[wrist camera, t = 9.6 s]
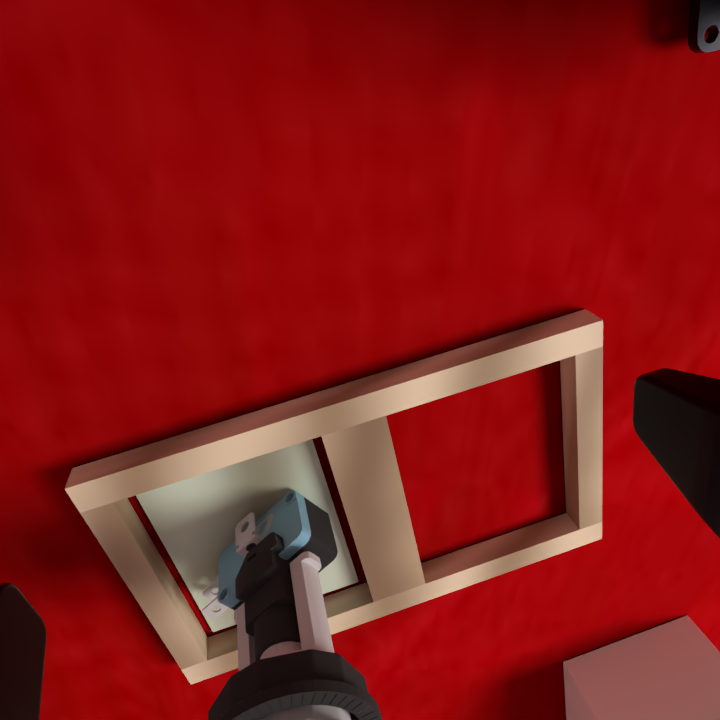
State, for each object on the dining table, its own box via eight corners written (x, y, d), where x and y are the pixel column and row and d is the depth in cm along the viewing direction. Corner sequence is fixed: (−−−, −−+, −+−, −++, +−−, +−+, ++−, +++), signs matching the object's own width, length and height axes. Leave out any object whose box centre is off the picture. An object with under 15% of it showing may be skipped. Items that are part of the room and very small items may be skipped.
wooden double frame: (585, 309, 22) (602, 320, 21) (588, 521, 28) (602, 538, 27) (72, 468, 20) (64, 488, 19) (192, 660, 26) (190, 684, 25)
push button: (251, 609, 26) (267, 880, 17) (157, 560, 23) (120, 849, 14) (355, 520, 25) (428, 761, 16) (268, 459, 22) (300, 705, 13)
